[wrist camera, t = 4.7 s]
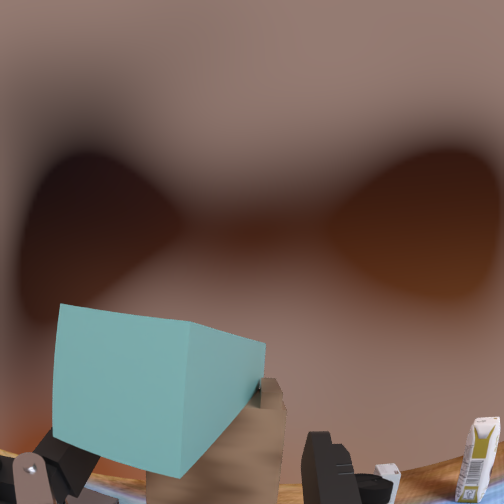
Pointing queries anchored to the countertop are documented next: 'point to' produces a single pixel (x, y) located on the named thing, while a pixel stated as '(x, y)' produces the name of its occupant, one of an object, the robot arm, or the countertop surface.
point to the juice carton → (478, 459)
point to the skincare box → (389, 476)
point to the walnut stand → (234, 459)
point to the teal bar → (148, 386)
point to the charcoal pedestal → (91, 498)
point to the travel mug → (374, 489)
